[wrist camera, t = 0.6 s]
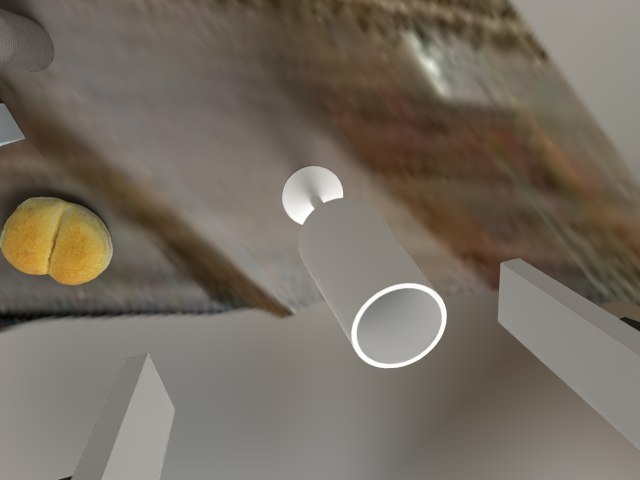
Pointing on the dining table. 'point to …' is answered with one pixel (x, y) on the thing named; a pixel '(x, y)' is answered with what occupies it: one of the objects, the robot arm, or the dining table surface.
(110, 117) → the dining table surface
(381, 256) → the champagne flute
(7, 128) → the wall
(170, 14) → the dining table surface
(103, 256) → the bread roll
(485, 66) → the dining table surface
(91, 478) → the robot arm
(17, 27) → the metal peg
